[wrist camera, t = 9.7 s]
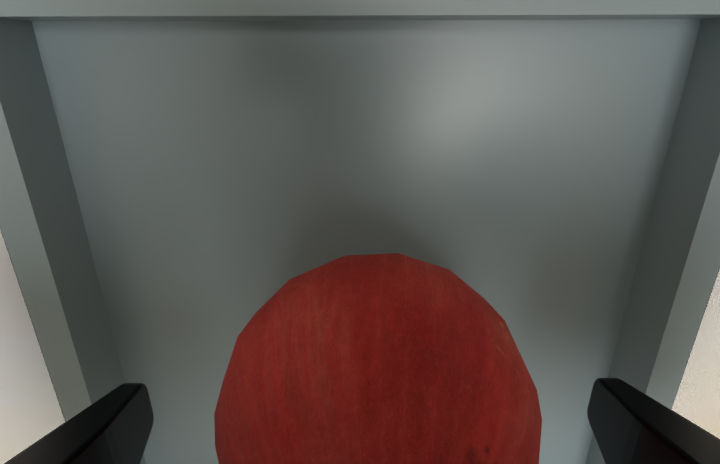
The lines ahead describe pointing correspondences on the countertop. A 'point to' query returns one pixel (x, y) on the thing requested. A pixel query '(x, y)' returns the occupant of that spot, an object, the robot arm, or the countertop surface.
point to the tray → (359, 182)
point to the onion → (377, 373)
